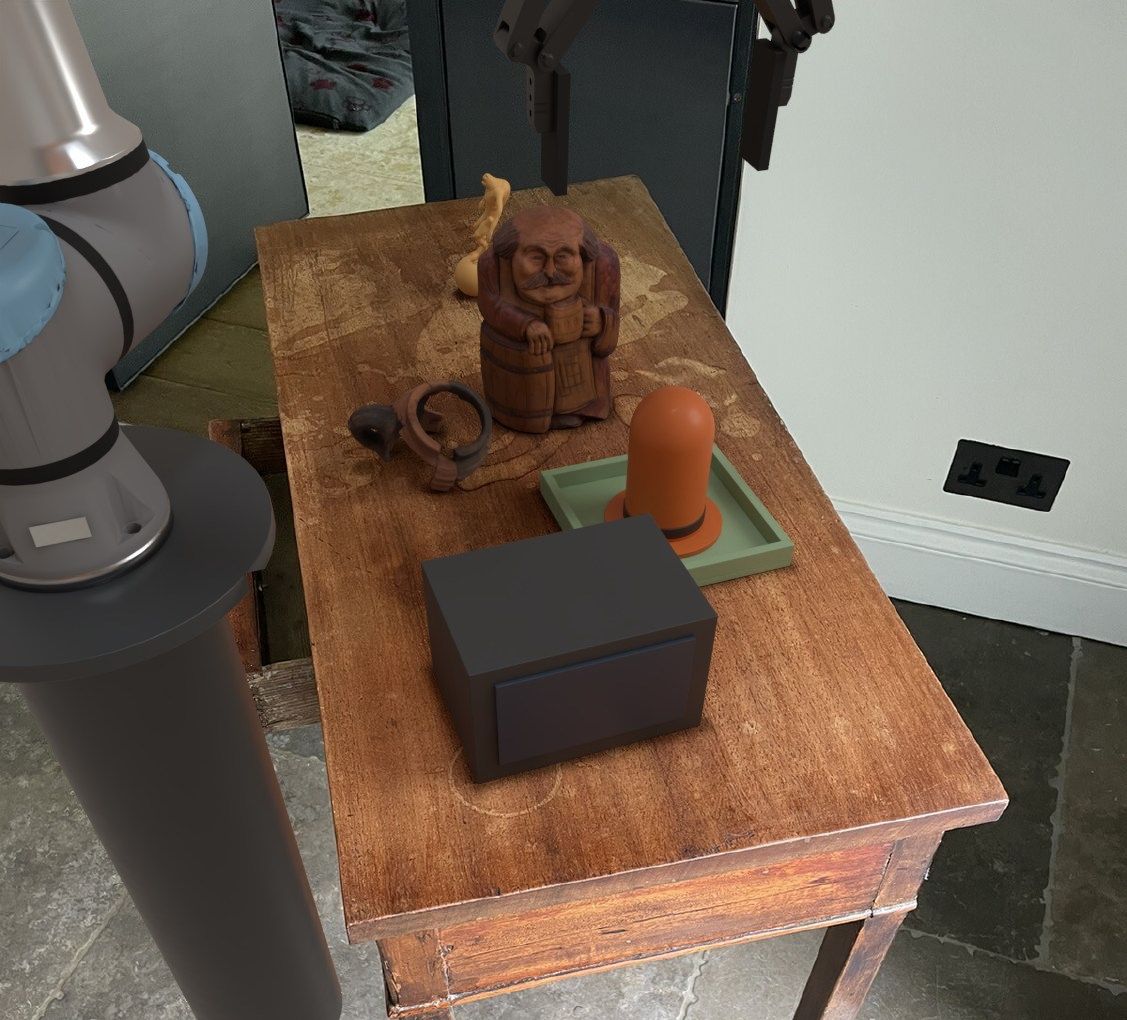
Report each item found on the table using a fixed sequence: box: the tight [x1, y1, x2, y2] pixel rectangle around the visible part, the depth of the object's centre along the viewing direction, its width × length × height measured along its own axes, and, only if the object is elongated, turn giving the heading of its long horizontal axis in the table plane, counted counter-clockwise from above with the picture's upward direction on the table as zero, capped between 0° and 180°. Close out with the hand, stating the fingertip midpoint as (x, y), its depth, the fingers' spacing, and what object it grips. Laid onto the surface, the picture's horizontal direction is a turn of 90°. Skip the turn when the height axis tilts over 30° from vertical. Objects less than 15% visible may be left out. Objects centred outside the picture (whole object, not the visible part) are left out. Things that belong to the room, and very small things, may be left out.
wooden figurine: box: [476, 204, 622, 434], centre depth 91 cm, size 12×6×18 cm, turn 105°
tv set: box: [420, 513, 719, 785], centre depth 71 cm, size 11×16×10 cm
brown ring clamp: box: [347, 378, 493, 492], centre depth 91 cm, size 12×10×8 cm
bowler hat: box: [604, 385, 722, 559], centre depth 82 cm, size 10×10×12 cm
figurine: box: [454, 172, 511, 297], centre depth 109 cm, size 8×6×12 cm
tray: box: [539, 442, 795, 588], centre depth 87 cm, size 16×16×2 cm
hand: (656, 175), depth 67 cm, fingers open, 13 cm apart
